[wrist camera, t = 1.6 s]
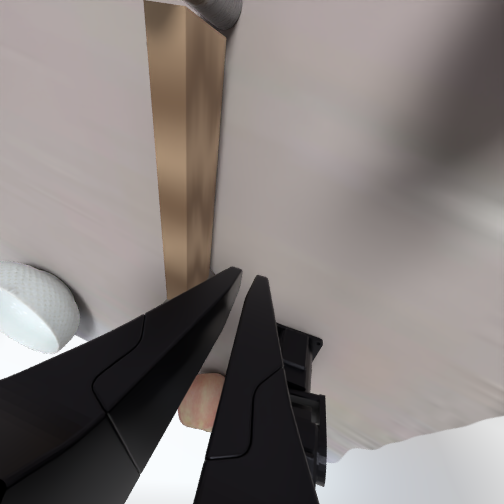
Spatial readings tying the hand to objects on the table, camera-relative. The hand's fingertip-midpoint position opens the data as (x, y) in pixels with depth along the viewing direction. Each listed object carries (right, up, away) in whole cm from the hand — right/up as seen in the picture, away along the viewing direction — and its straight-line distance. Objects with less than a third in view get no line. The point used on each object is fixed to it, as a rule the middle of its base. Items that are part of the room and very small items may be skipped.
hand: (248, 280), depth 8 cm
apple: (-6, -20, +30) cm, 36 cm away
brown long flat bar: (-4, +6, +12) cm, 14 cm away
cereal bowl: (-34, -5, +30) cm, 46 cm away
